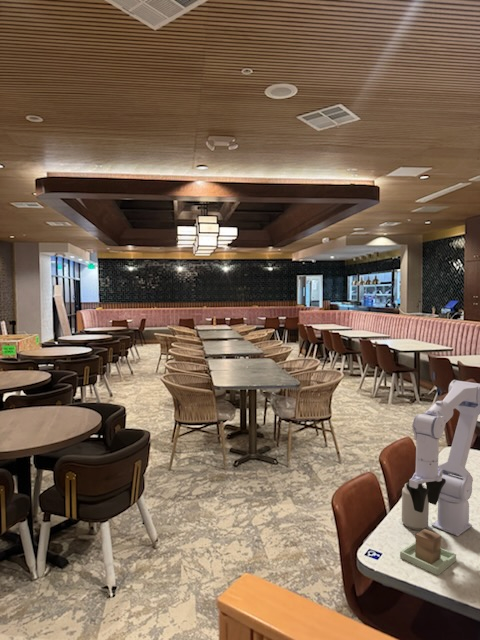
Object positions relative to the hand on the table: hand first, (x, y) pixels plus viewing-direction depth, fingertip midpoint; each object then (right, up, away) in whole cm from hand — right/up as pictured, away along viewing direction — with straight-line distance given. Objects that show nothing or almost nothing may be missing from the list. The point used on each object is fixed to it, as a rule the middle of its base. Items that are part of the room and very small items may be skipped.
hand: (425, 507), depth 125 cm
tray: (-2, -11, -7) cm, 13 cm away
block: (-2, -10, -7) cm, 13 cm away
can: (+1, -10, +11) cm, 15 cm away
